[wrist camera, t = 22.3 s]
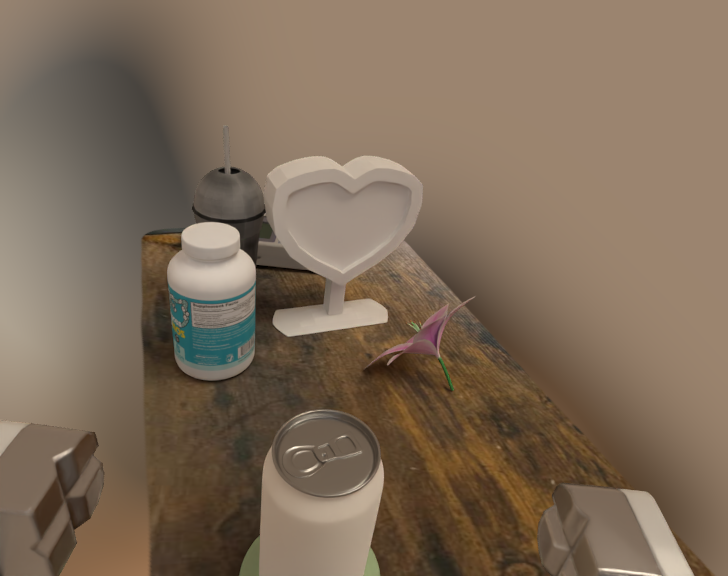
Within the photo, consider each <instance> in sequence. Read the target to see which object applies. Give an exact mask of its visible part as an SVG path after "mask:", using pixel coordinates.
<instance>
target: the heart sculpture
mask: <svg viewBox="0 0 728 576" xmlns="http://www.w3.org/2000/svg"><path fill="white" fill-rule="evenodd" d="M422 194H423V184H422V183H421V182H420V181H419V180H418V179H417V178H416V177H415V176H414V175H413V174H412V173H410V172H409V171H408V170H406V169H405V168H404V167H403V166H402V165H400V164H398V163H396V162H393V161H391V160H388V159H384V158H380V157H376V156H361V157H358V158H355V159H353V160H352V161H350V162H348V163H347V164H345V165H343V166H341V165H339V164H338V163H336V162H335V161H333V160H331V159H330V158H327V157H324V156H312V157H306V158H301V159H297V160H293V161H290V162H287V163H285V164H282V165H279V166H277V167H276V168H275V169H274V170H273V171H271V172H270V173H269V174H268V175H267V178H266V184H265V189H264V194H263V196H264V203H265V210H266V216H267V221H268V222H269V224H270V226H271V228H272V230H273V231H274V233H275V235H276V237H277V238H278V239H279V241H280V242H281V244H282V245H283V247H284V248H285V250H286V251H287V253H288V254H289V256H290V257H291V258H293V259H294V260H296V261H297V262H299V263H300V264H301V265H303V266H304V267H306V268H307V269H309V270H310V271H312V272H315V273H317V274H319V275H321V276H323V277H325V278H326V285H325V295H324V304H321V305H313V306H305V307H297V308H289V309H281V310H276V312H275V314H274V317H273V325H274V326H275V327H276V328H277V329H278V330H279V331H280V332H282V333H283V334H285V335H286V336H288V337H290V336H297V335H304V334H311V333H318V332H325V331H332V330H338V329H345V328H352V327H359V326H366V325H373V324H380V323H387V320H388V313H387V310H386V308H384V307H383V306H382V305H380V304H379V303H377V302H376V301H374V300H372V299H362V300H354V301H346V302H344V296H345V288H346V283H348V282H349V281H350V280H352V279H353V278H355V277H356V276H358V275H360V274H361V273H363V272H365V271H366V270H368V269H369V268H371V267H373V266H374V265H376V264H378V263H379V262H380V261H381V260H383V259H384V258H385V257H386V256H388V255H389V254H390V253H391V252H393V251H394V250H395V249H396V248H398V246H399V245H400V244H401V243H402V241H403V240H404V239H405V237H406V236H407V235H408V233H409V232H410V231H411V230H412V228H413V227H414V225H415V222H416V219H417V216H418V213H419V210H420V208H421V205H422Z"/></svg>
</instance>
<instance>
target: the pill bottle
mask: <svg viewBox="0 0 728 576" xmlns="http://www.w3.org/2000/svg"><path fill="white" fill-rule="evenodd" d="M182 249H183V250H181V251H180V252H178V253H177V254H176V255H175V256H174V257H173V258H172V259H171V261H170V263H169V265H168V269H167V278H168V289H169V299H170V309H171V320H172V331H173V342H174V352H175V359H176V362H177V364H178V366H179V367H180V369H181V370H182V371H183V372H185V373H186V374H188V375H189V376H191V377H194V378H197V379H201V380H209V381H214V380H223V379H227V378H231V377H233V376H236V375H237V374H239V373H241V372H242V371H244V370H245V369H246V368H247V367H248V366H249V365H250V363H251V362H252V360H253V357H254V353H255V300H256V269H255V264H254V262H253V260H252V259H251V257H250V256H249V255H248V254H247V253H246V252H244V251H243V250H241V249H240V234H239V232H238V230H237V229H236V228H234V227H232V226H230V225H228V224H224V223H218V222H204V223H198V224H195V225H191V226H189V227H188V228H186V229H185V230H184V231H183V232H182Z"/></svg>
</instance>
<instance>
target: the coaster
mask: <svg viewBox="0 0 728 576" xmlns="http://www.w3.org/2000/svg"><path fill="white" fill-rule="evenodd" d="M259 554H260V535H259V536H258V538H257V539H256V540H255V541H254V542H253V544H252V545H251V547H250V548H249V550H248V551H247V553H246V555H245V557H244V560H243V563H242V566H241V569H240V574H239V576H259ZM363 576H380V571H379V567H378V563H377V560H376V557H375V555H374V553H373V551H372V549H371V547H370V549H369V553H368V558H367V562H366V566H365V571H364V575H363Z"/></svg>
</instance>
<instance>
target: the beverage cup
mask: <svg viewBox="0 0 728 576" xmlns="http://www.w3.org/2000/svg"><path fill="white" fill-rule="evenodd" d="M223 138H224V161H225V167H220V168H217V169H214V170H212V171H210V172H209V173H208V174H207V175H205V176H204V177H203V178H202V179H201V181H200V182H199V184H198V186H197V189H196V192H195V196H194V203H193V207H192V210H193V212H194V216H195V220H196V224H198V223H204V222H218V223H224V224H228V225H230V226H232V227H234V228H236V229H237V230H238V232H239V234H240V249H241V250H243V251H244V252H246V253H247V254H248V255H249V256H250V257H251V259H252V260H253V262H254V264H255V269H256V261H257V252H258V243H259V235H260V230H261V228H262V224H263V219H264V214H265V213H266V210H265V204H264V197H263V193H262V190H261V188H260V186H259V185H258V183H257V182H256V181H255V180H254V178H253V177H252V176H251V175H250V174H248V173H247V172H245V171H243V170H241V169H238V168H235V167H230V150H229V127H228V126H223Z"/></svg>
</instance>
